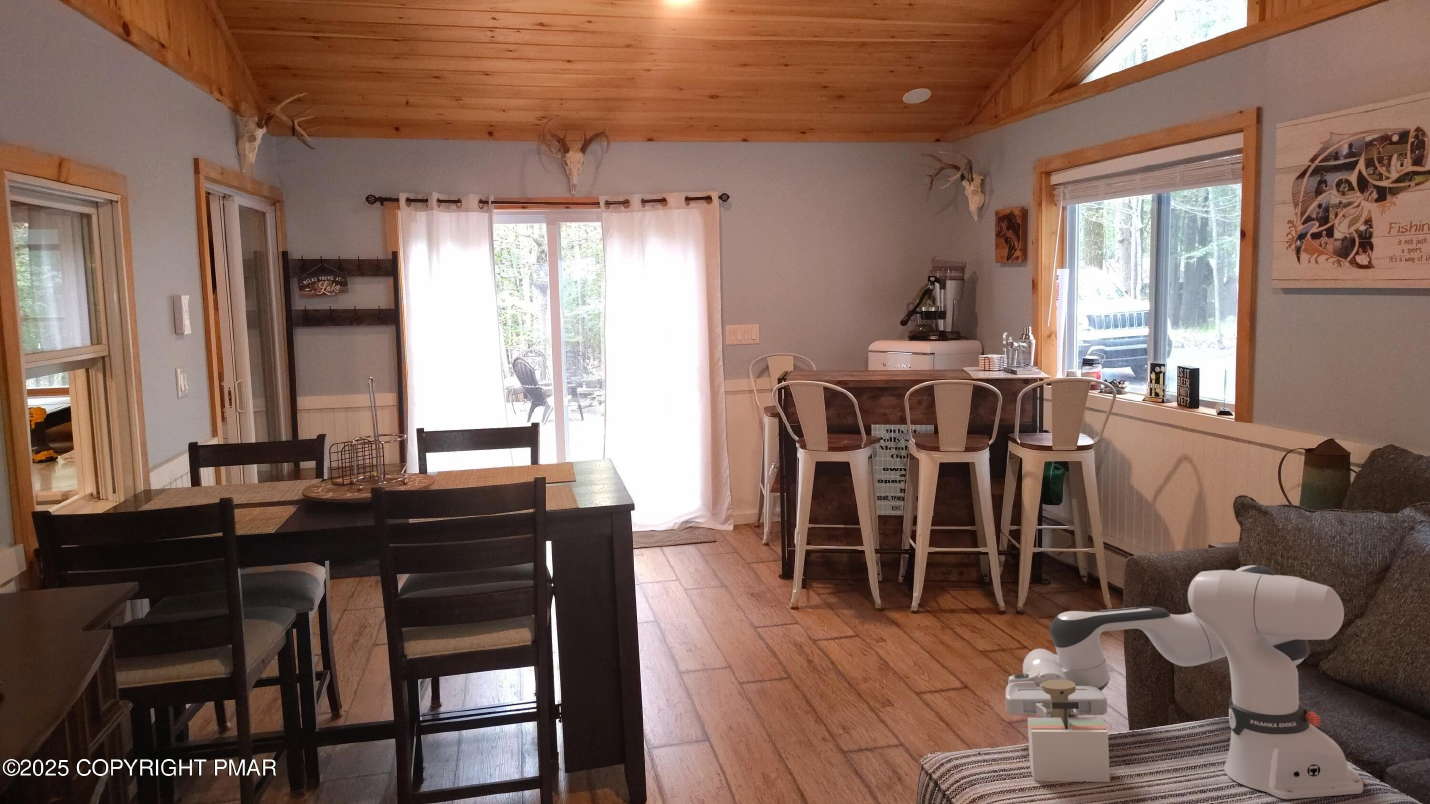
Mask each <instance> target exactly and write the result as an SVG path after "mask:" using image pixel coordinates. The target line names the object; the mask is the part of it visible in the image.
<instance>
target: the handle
mask: <svg viewBox="0 0 1430 804" xmlns="http://www.w3.org/2000/svg"><path fill="white" fill-rule="evenodd" d="M1042 689H1043V691H1044V692H1045V693H1047V694H1049V695H1050V697H1051V712H1052V716H1051V717H1052V718H1061V719H1062V721H1063V724H1064V709H1052V702H1068V696H1069V695H1070V694H1073V693H1074V692H1075V691H1076V685H1075V683H1074V682H1072V681H1070V680H1048V681H1044V682H1043V683H1042ZM1067 715H1068V718H1070V715H1069V709H1067Z"/></svg>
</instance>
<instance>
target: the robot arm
mask: <svg viewBox="0 0 1430 804" xmlns="http://www.w3.org/2000/svg"><path fill="white" fill-rule="evenodd" d="M1187 601H1188V606H1189V608H1190V610H1191V612H1188V613H1184V614H1172V613H1169V611H1168V610H1167V609H1165V608H1163V607H1161V606H1160V607H1159V606H1152V605H1150V606H1145V605H1144V606H1131V607H1121V608H1109V609H1099V610H1098V609H1096V610H1068V611H1064V612H1061V613H1058V614H1057V615H1056V616H1055V617H1054V619H1053V620H1052V622H1051V624H1050V626H1049V629H1048V630H1049V634H1050V637H1051V639H1052V642H1053V645H1054V646H1055V650H1056V654H1055V653H1053V652H1052V651H1049V650H1047V649H1045V648H1035V649H1032V650H1031V651H1030V652H1029V653H1027V654H1026V656H1025V658H1024V660H1023V663H1022V673H1021V674H1014V675H1010V676H1009V677H1008V682H1007V683H1008V684H1007V686H1006V687H1005V710H1006V713H1007V714H1009V715H1011V716H1016V715H1017V716H1024V715H1025V716H1029V715H1031V716H1034V715H1035V716H1036V715H1037V716H1040V718H1052V717H1051V716H1052V712H1051V697H1050V695H1049V694H1047V693H1045V692H1044V691H1043V689H1042V683H1043V682H1044V681H1048V680H1070V681H1072V682H1074V683H1075V685H1076V691H1075V692H1074V693H1073V694H1070V695H1069V696H1068V702H1079V709H1069V715H1070V718H1078V717H1079V716H1103V715H1106V714H1107V712H1108V700H1107V697H1106V695H1105V694H1104V693H1103V690H1104V689H1105V688H1106V687H1107V686H1108V684H1109V682H1110V680H1111V677H1110V673H1109V668H1108V665H1107V661H1106V658H1105V654H1104V650H1103V647H1102V643H1101V639H1100V636H1101V634H1102V633H1103V632H1109V631H1120V630H1129V629H1130V630H1131V629H1132V630H1133V629H1138V630H1141V631H1142V632H1143V633H1144V634H1145V635H1146V636H1147V637H1148V639H1149V640H1150V642H1151V643H1152V645H1153V646H1154V647H1155V649H1156V650H1157V651H1158V653H1160V654H1161V655H1162V656H1163V657H1164V658H1165V659H1166V660H1167V661H1168V662H1171V663H1173V664H1174V665H1177V666H1180V667H1194V666H1199V665H1203V664H1206V663H1211V662H1213V661H1216V660H1219V659H1222V658H1225V657H1227V661H1228V664H1229V665H1228V666H1229V674H1230V683H1231V697H1230V698H1229V707H1228V722H1229V727H1230V731H1231V732H1230V740H1229V749H1228V753H1227V757H1226V760H1225V763H1224V767H1223V768H1224V772H1225V773H1226V775H1227V776H1228V777H1229V778H1230V779H1232V780H1233V781H1235V782H1237V783H1239V784H1240V785H1243V786H1246V787H1248V788H1250V789H1254V790H1259V791H1262V792H1266V793H1267V794H1269V795H1272V796H1274V797H1277V798H1279V799H1283V800H1292V799H1293V800H1295V799H1305V798H1307V799H1308V798H1317V797H1319V798H1320V797H1331V796H1332V797H1333V796H1343V795H1355V794H1357V795H1358V794H1362V793H1363V792H1364V782H1363V780H1362V778H1361V776H1360V775H1359V774H1358V772H1357V771H1356V770H1355V769H1354V768H1353V767H1352V766H1350V765H1349V763H1348V762H1347V758H1346V756H1345V754H1344V751H1343V750H1342V748H1341V747H1340V746H1339V745H1338V743H1337V742H1336V741H1334V739H1332V738H1331V737H1330V736H1328V735H1327V734H1326V733H1324V732H1323V731H1322V730H1320V729H1318V728H1317V726H1319V725H1320V724H1321V723H1322V722H1321V721H1322V720H1321V717H1320V716H1319V715H1317V713H1316V712H1314V711H1311V710H1310V708H1309V707H1307V706H1305V705H1304V704H1302V703H1301V702H1300V699H1299V698H1300V697H1299V672H1298V669H1297V666H1298V665H1299V664H1301V663H1302V662H1303V661H1304V659H1307V658H1308V657H1309V655H1310V652H1311V649H1310V645H1309V640H1312V641H1315V640H1319V641H1320V640H1329V639H1331V638H1332V637H1333V636H1335V635H1336V634H1337V633H1338V632H1339V630H1340V629H1341V627H1342V625H1343V622H1344V618H1345V610H1344V609H1345V608H1344V604H1343V602H1342V600H1341V598H1340V596H1339V595H1338V593H1337V592H1336V591H1335V590H1334V588H1333V587H1331V586H1328V585H1325V584H1321V583H1318V582H1316V581H1312V580H1311V581H1310V580H1307V579H1304V578H1301V577H1298V576H1293V575H1282V574H1281V573H1276V572H1275V571H1274V570H1273V569H1271V568H1269V567H1267V566H1264V565H1255V564H1254V565H1246V566H1245V565H1244V566H1241V567H1239V568H1237V569H1235V570H1232V569H1218V570H1217V569H1216V570H1214V569H1213V570H1206V571H1200V572H1199V573H1198V574H1196V575H1195V576H1194V577H1193V579H1192V580H1191V582H1190V584H1189V586H1188V590H1187Z"/></svg>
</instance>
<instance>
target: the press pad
mask: <svg viewBox="0 0 1430 804" xmlns="http://www.w3.org/2000/svg"><path fill="white" fill-rule="evenodd" d="M1052 709H1064V726H1065V729H1068V715H1067V709H1079V702H1052Z"/></svg>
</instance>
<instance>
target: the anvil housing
mask: <svg viewBox="0 0 1430 804" xmlns="http://www.w3.org/2000/svg"><path fill="white" fill-rule="evenodd" d="M1108 731H1109V730H1108V729H1107V726H1106V724H1105V722H1104V721H1103V718H1102V717H1077V718H1068V729H1065V726H1064V724H1063V721H1062V719H1061V718H1044V717H1027V733H1028V755H1029V757H1028V759H1029V767H1030V771H1031V775H1032V778H1033V781H1034V782H1083V783H1084V781H1085V782H1087V783H1088V782H1090V783H1091V782H1093V783H1094V782H1095V783H1097V782H1098V783H1101V782H1102V783H1110V782H1111V778H1110V777H1111V776H1110V754H1109V753H1110V751H1109V747H1110V746H1109V732H1108Z"/></svg>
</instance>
